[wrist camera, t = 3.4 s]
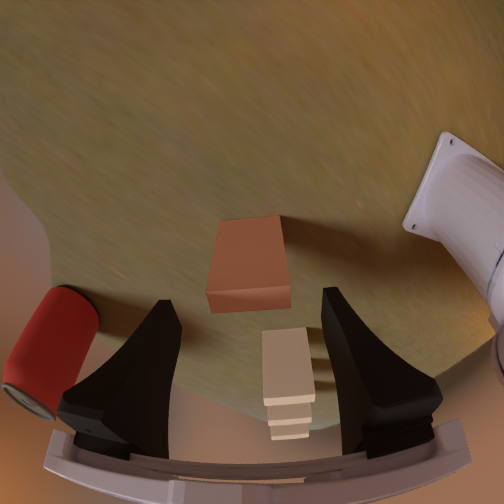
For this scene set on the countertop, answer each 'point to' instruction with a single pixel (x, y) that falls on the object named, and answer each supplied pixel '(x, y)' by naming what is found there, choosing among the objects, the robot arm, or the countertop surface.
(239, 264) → the rust domino
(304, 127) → the countertop surface
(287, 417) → the ivory domino
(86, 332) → the beer can
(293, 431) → the ivory domino
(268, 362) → the ivory domino
